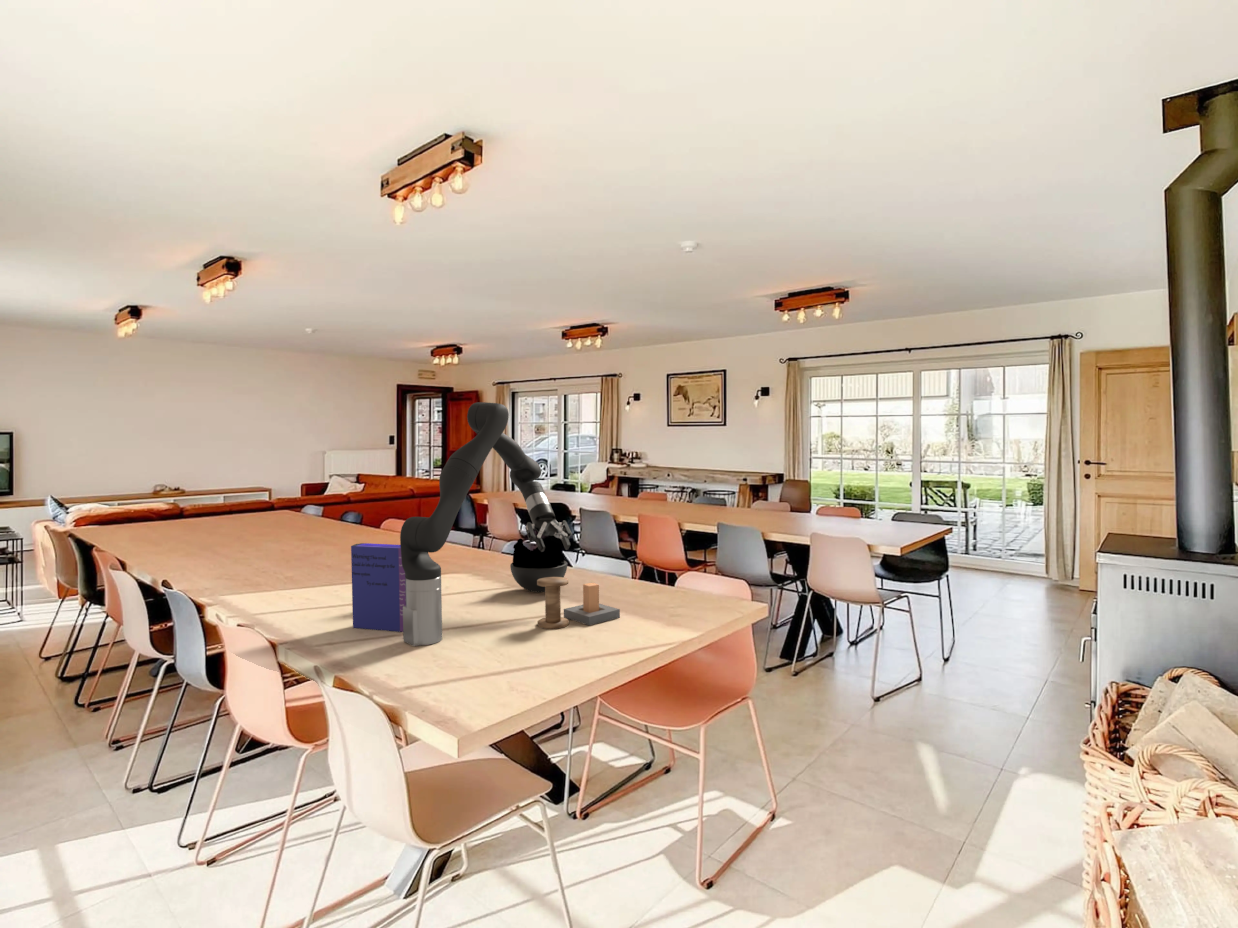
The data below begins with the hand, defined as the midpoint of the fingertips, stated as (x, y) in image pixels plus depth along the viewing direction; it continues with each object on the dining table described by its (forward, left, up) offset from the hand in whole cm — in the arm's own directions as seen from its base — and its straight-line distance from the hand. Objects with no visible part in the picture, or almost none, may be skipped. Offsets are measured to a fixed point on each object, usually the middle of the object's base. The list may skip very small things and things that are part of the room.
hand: (555, 549), depth 202 cm
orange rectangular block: (+3, -13, -20) cm, 24 cm away
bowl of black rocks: (+11, +25, -20) cm, 34 cm away
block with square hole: (+3, -13, -19) cm, 24 cm away
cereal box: (-47, +20, -20) cm, 54 cm away
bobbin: (-10, -11, -19) cm, 24 cm away
